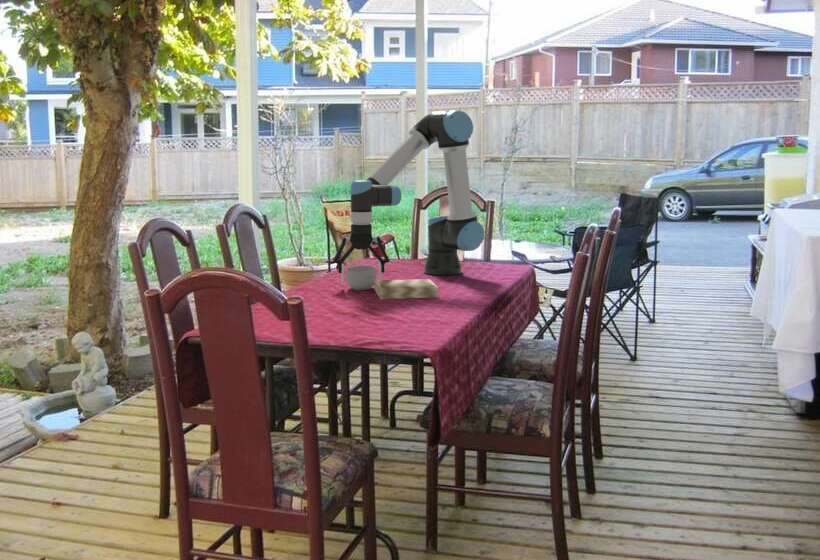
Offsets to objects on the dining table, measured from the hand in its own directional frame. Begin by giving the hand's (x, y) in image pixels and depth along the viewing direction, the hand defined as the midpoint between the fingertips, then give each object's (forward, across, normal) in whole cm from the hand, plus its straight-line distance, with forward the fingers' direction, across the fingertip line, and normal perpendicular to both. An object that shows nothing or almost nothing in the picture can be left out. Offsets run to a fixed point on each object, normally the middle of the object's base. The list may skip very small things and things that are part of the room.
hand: (361, 281), depth 321 cm
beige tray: (+2, -14, +14) cm, 20 cm away
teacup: (+3, 0, 0) cm, 3 cm away
